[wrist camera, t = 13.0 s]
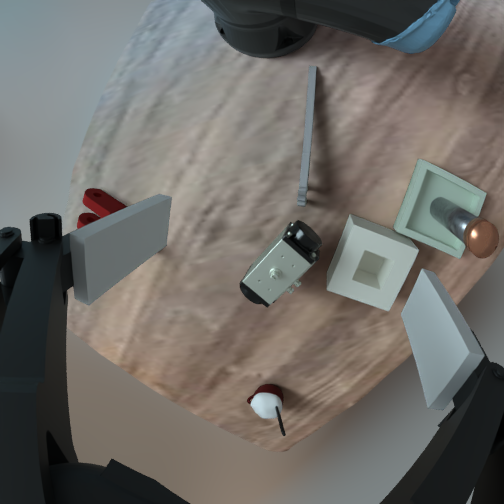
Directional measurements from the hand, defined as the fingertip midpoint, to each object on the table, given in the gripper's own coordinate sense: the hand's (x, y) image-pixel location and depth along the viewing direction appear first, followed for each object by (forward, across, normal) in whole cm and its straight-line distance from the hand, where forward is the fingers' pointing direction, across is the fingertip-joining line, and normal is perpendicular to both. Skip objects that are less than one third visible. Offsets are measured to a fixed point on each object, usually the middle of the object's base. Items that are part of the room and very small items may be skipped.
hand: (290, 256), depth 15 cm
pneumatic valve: (+31, -1, -11) cm, 33 cm away
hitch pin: (+30, +20, +2) cm, 36 cm away
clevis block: (+30, +11, -9) cm, 34 cm away
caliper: (+31, -2, +6) cm, 32 cm away
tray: (+31, +20, +2) cm, 37 cm away
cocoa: (+30, +4, -43) cm, 53 cm away
